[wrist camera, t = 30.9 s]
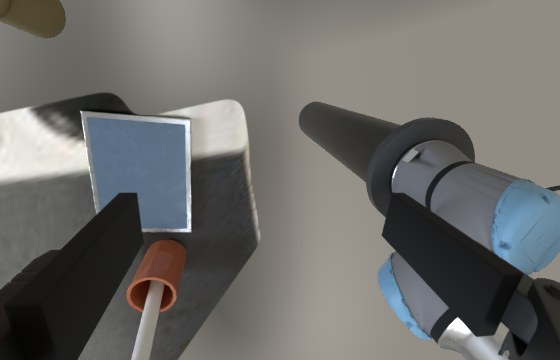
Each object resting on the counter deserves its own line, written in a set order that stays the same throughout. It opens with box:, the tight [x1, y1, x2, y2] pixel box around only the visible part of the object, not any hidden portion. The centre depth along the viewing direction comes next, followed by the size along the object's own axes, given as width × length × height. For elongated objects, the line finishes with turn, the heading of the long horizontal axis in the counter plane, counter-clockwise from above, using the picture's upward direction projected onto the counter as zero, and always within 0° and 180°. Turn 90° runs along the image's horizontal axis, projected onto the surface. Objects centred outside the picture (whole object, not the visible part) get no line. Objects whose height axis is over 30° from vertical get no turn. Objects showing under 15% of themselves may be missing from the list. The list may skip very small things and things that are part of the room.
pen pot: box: [127, 239, 187, 313], centre depth 45 cm, size 7×7×10 cm
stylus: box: [131, 280, 165, 360], centre depth 41 cm, size 2×2×20 cm
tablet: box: [81, 110, 192, 232], centre depth 43 cm, size 15×20×1 cm
